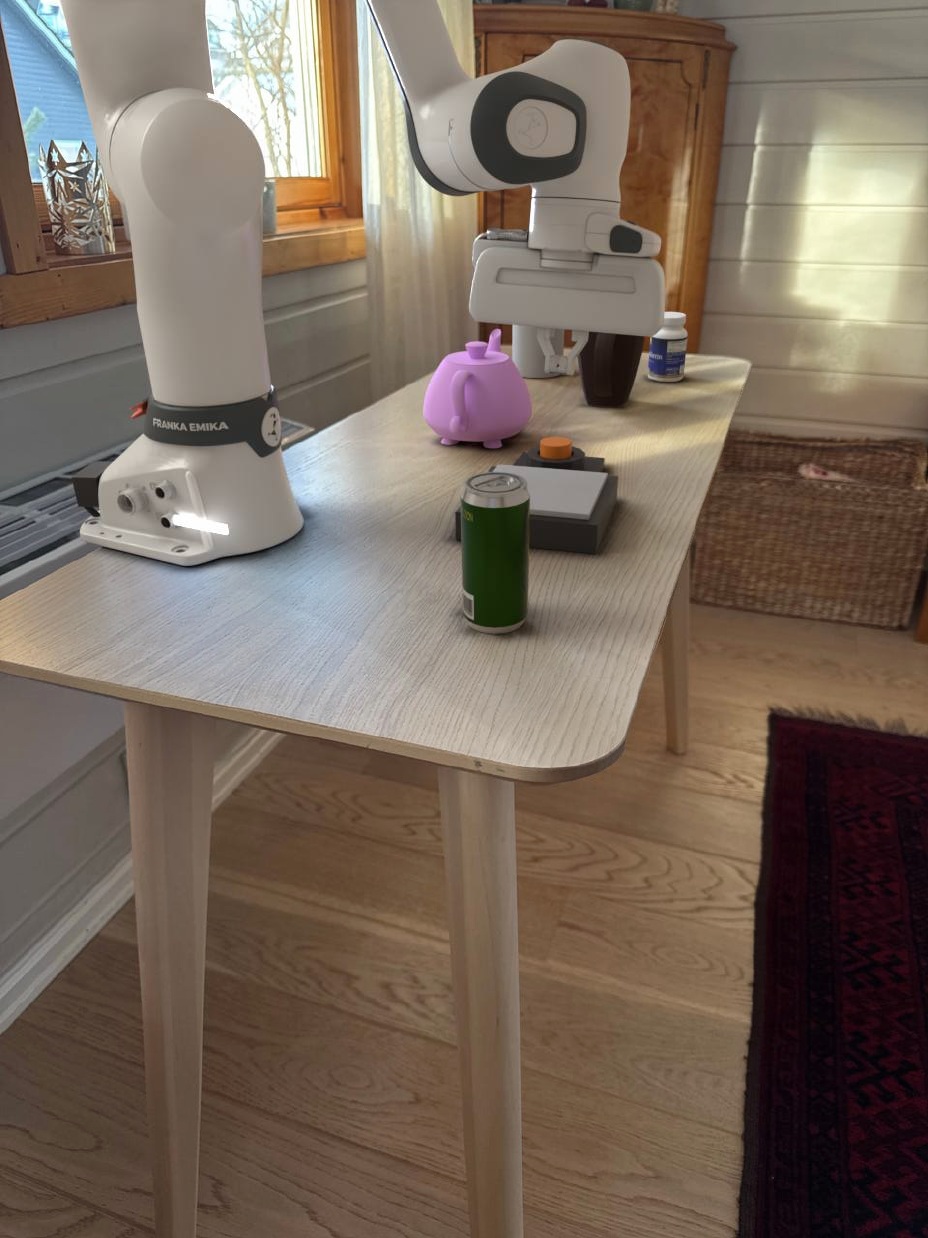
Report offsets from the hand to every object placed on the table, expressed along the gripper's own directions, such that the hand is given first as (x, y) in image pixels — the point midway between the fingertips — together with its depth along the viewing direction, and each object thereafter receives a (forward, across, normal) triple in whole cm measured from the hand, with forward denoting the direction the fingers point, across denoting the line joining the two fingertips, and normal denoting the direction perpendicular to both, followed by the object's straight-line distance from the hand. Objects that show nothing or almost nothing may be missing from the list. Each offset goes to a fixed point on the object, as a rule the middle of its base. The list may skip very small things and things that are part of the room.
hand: (559, 373), depth 96 cm
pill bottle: (+6, +6, +54) cm, 55 cm away
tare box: (+12, 0, +4) cm, 13 cm away
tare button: (+10, 0, +4) cm, 11 cm away
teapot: (+12, -14, +18) cm, 25 cm away
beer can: (+16, +3, -30) cm, 35 cm away
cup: (+7, -14, +54) cm, 56 cm away
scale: (+14, +1, -8) cm, 16 cm away
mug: (+9, 0, +36) cm, 37 cm away
